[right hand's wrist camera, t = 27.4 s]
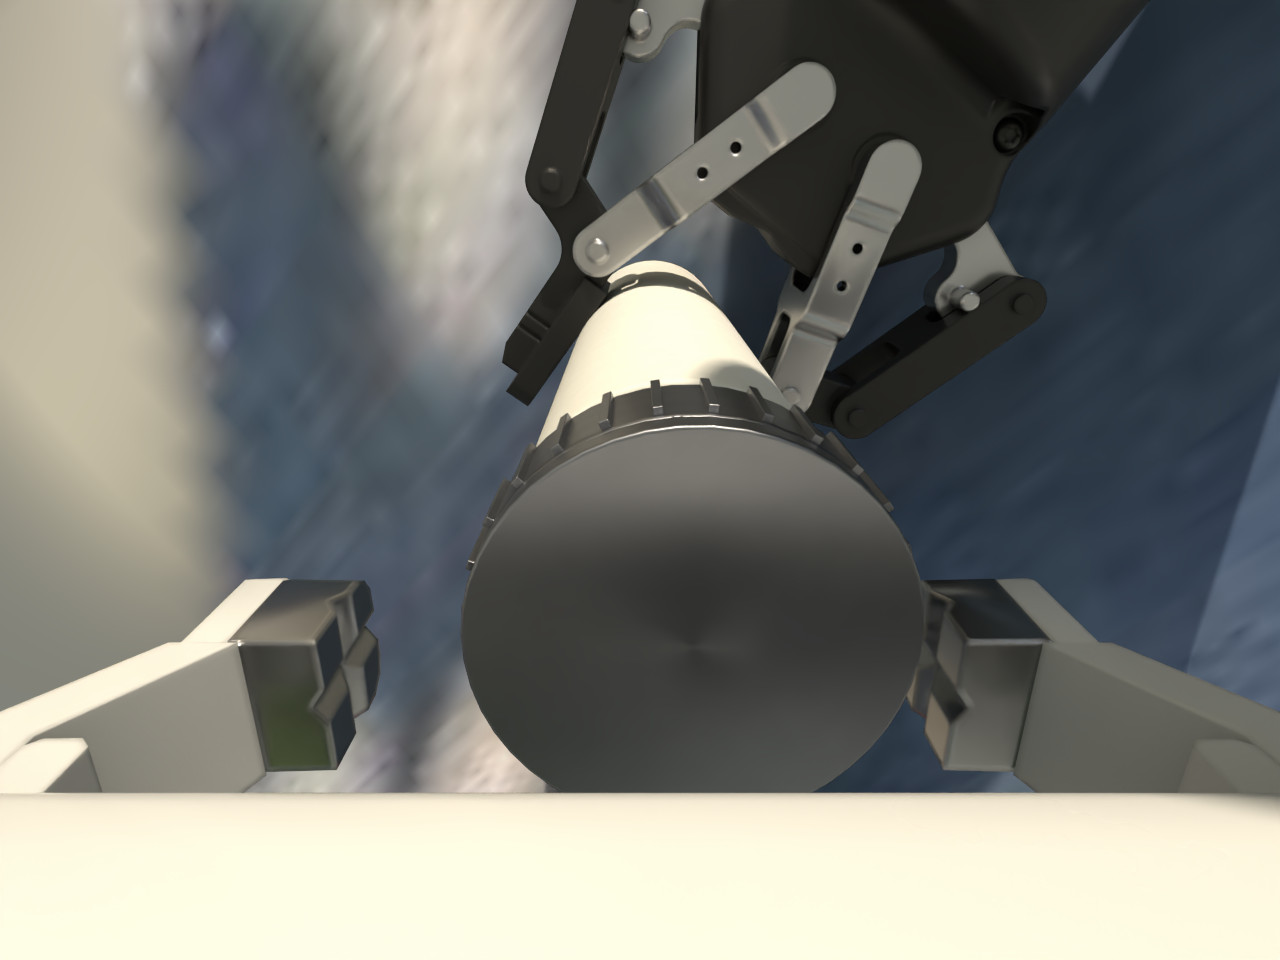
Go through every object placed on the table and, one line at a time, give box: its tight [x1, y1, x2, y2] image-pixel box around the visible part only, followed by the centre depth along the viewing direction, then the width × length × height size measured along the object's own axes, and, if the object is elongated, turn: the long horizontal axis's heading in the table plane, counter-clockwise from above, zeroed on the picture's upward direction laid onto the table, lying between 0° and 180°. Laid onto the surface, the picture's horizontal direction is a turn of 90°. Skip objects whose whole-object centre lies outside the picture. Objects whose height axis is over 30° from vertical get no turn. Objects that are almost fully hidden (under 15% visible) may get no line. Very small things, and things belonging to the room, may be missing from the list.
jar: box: [536, 261, 791, 447], centre depth 17 cm, size 4×4×18 cm
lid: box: [461, 378, 924, 793], centre depth 9 cm, size 5×5×2 cm
